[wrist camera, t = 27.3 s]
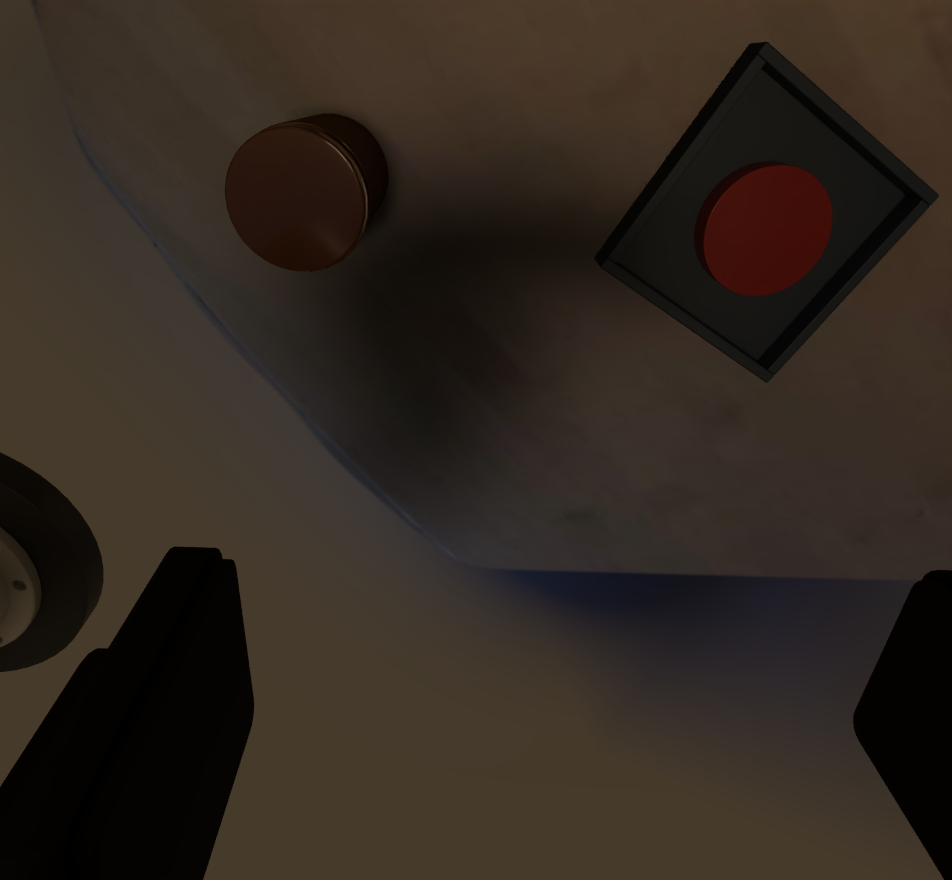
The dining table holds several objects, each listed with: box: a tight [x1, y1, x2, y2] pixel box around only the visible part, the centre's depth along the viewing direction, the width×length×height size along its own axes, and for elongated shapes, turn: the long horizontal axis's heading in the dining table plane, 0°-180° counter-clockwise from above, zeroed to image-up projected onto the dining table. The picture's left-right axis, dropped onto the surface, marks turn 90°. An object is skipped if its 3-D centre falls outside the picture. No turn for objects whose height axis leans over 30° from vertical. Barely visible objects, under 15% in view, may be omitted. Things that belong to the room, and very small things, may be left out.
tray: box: [594, 42, 939, 383], centre depth 35 cm, size 12×12×2 cm
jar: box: [225, 114, 389, 272], centre depth 30 cm, size 6×6×9 cm
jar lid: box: [694, 162, 832, 296], centre depth 35 cm, size 7×6×2 cm
